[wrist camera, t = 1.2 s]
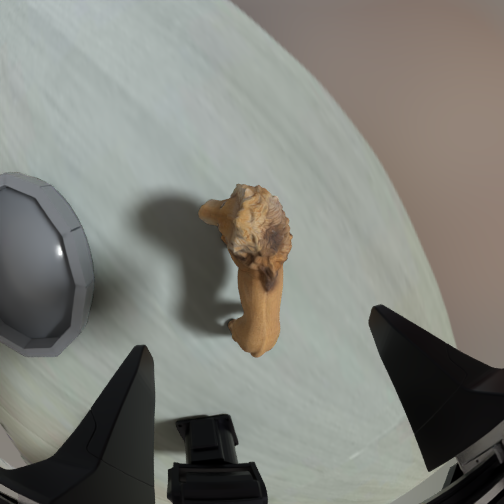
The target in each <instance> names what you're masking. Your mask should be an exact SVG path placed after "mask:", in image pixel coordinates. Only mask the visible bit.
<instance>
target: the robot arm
mask: <svg viewBox="0 0 504 504" xmlns="http://www.w3.org/2000/svg"><path fill="white" fill-rule="evenodd" d="M369 327H370V330H371V332H372V335H373V338H374V341H375V344H376V346H377V349H378V352H379V355H380V357H381V359H382V361H383V364H384V366H385V368H386V370H387V372H388V374H389V376H390V379H391V381H392V383H393V385H394V387H395V390H396V392H397V394H398V397H399V399H400V401H401V403H402V406H403V408H404V410H405V413H406V415H407V418H408V420H409V422H410V425H411V427H412V430H413V432H414V435H415V438H416V440H417V443H418V446H419V448H420V451H421V454H422V456H423V459H424V462H425V465H426V467H427V470H428V472H430V471H432V470H434V469H435V468H437V467H439V466H441V465H442V464H444V463H446V462H447V461H449V460H450V459H452V458H453V457H456V459H457V463H456V464H455V465H453V466H452V467H450V470H449V472H448V475H447V478H446V481H445V483H444V486H443V488H442V490H441V491H440V492H438V493H437V494H435V495H434V496H432V497H430V498H429V499H427V500H425V501H423V502H422V503H420V504H504V368H503V369H499V368H493V367H490V366H488V365H486V364H484V363H482V362H480V361H478V360H476V359H474V358H472V357H470V356H468V355H466V354H464V353H463V352H461V351H459V350H457V349H456V348H454V347H452V346H451V345H449V344H447V343H446V342H444V341H442V340H441V339H439V338H437V337H436V336H434V335H432V334H431V333H429V332H428V331H426V330H424V329H423V328H421V327H419V326H418V325H416V324H414V323H413V322H411V321H409V320H408V319H406V318H404V317H403V316H401V315H399V314H397V313H396V312H394V311H392V310H391V309H389V308H387V307H386V306H384V305H381V304H380V305H376V306H373V307H372V310H371V313H370V317H369ZM154 416H155V380H154V361H153V357H152V356H151V354H150V352H149V350H148V348H147V346H146V345H136V346H135V347H134V348H133V349H132V351H131V352H130V353H129V355H128V356H127V358H126V359H125V360H124V362H123V363H122V364H121V366H120V367H119V369H118V370H117V371H116V373H115V374H114V376H113V377H112V378H111V380H110V381H109V383H108V384H107V386H106V387H105V388H104V390H103V391H102V393H101V394H100V396H99V397H98V398H97V400H96V401H95V403H94V404H93V406H92V407H91V410H89V411H88V413H87V414H86V416H85V417H84V419H83V420H82V422H81V423H80V424H79V426H78V427H77V428H76V429H75V431H74V432H73V433H72V434H71V436H70V437H69V438H68V439H67V440H66V442H65V443H64V444H63V445H62V446H61V448H60V449H59V450H58V451H57V452H56V453H55V454H54V455H53V456H51V457H50V458H48V459H46V460H43V461H40V462H37V463H34V464H31V465H27V466H24V467H20V468H17V469H12V470H7V469H3V468H1V467H0V484H2V485H4V486H5V487H7V488H9V489H11V490H13V491H14V492H16V493H18V499H15V498H13V497H11V496H9V495H7V494H5V493H3V492H1V491H0V504H155V491H154ZM226 418H227V419H226ZM176 427H177V429H178V431H179V433H180V435H181V437H182V438H183V440H184V442H185V447H186V464H181V463H176V462H174V463H173V467H172V468H171V469H168V488H167V499H169V500H170V501H171V502H172V503H173V504H268V496H267V490H266V487H265V484H264V482H263V480H262V478H261V475H260V473H259V471H258V469H257V467H256V465H255V462H249V463H239V464H238V460H237V456H236V451H235V446H236V445H238V439H237V436H236V433H235V430H234V426H233V423H232V419H231V416H230V415H221V416H215V417H208V418H201V419H193V420H184V421H177V422H176Z"/></svg>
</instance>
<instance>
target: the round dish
mask: <svg viewBox="0 0 504 504" xmlns="http://www.w3.org/2000/svg"><path fill="white" fill-rule="evenodd" d="M94 278H95V277H94V269H93V261H92V256H91V251H90V247H89V244H88V240H87V237H86V235H85V232H84V230H83V227H82V225H81V223H80V221H79V219H78V217H77V215H76V214H75V212H74V211H73V209H72V207H71V206H70V204H69V203H68V202H67V201H66V200H65V198H64V197H63V196H62V195H61V194H60V193H59V192H58V191H57V190H56V189H55V188H54V187H53V186H52V185H51V184H48V183H46V182H45V181H43V180H41V179H38V178H35V177H32V176H27V175H24V174H22V173H19V172H8V173H3V174H1V175H0V342H2V343H3V344H5V345H6V346H8V347H10V348H11V349H13V350H15V351H16V352H18V353H20V354H22V355H23V356H25V357H57V356H58V355H59V354H60V353H61V352H62V351H63V350H64V349H65V348H66V347H67V346H68V345H69V344H70V343H71V342H72V341H73V340H74V339H75V338H76V337H77V336H78V335H79V334H80V333H81V331H82V330H83V328H84V327H85V325H86V324H87V322H88V315H89V311H90V308H91V304H92V300H93V293H94V281H95V279H94Z"/></svg>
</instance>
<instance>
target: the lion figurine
mask: <svg viewBox="0 0 504 504" xmlns="http://www.w3.org/2000/svg"><path fill="white" fill-rule="evenodd" d="M236 186H237V187H236V188H235V189H234V191H233V193H232V194H231V197H230V198H229V199H226V200H222V201H218V200H213V199H211V200H209V201H207V202H206V203H205V204H204V205H202V206H201V208H200V210H199V212H198V215H199V217H200V219H202V220H203V221H204V222H205V223H207V224H210V225H215V226H218V229H219V231H220V232H221V233H222V234H223V235H222V236H221V239H222V240H223V242H224V243H225V244H226V245H227V248H228V251H229V253H230V255H231V258H232V260H233V261H234V263H235V264H236V265H237V266H238V267H239V269H238V289H239V294H240V300H241V304H242V307H243V310H244V315H243V316H242V317H240V318H238V319H237V320H236V319H233V320H231V321H230V322H229V323H228V327H229V330H230V331H231V333H232V338H233V340H234V341H235V342H237V343H238V344H239V346H240V347H241V348H242V349H243V350H244V351H245V352H250V353H251V355H252V356H253V357H260V356H262V355H263V354H264V353H265V352H267V351H269V350H270V349H271V348H272V347H273V346H274V345H275V344H276V342H277V339H278V337H279V333H280V322H279V311H280V303H281V296H282V288H283V263H284V261H286V260H287V256H288V253H289V252H290V250H291V247H292V245H291V239H292V238H293V236H292V235H291V234H290V232H289V231H290V227H289V225H288V224H289V219H288V218H287V217H286V216H285V212H284V211H283V210H282V208H283V207H282V205H281V204H280V202H279V199H278V197H277V196H272V195H271V194H270V192H268V191H267V190H266V189H265V188H262V187H261V186H260V185H258V186H255V187H252V186H247V185H245V184H243V185H241V184H237V185H236Z"/></svg>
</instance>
